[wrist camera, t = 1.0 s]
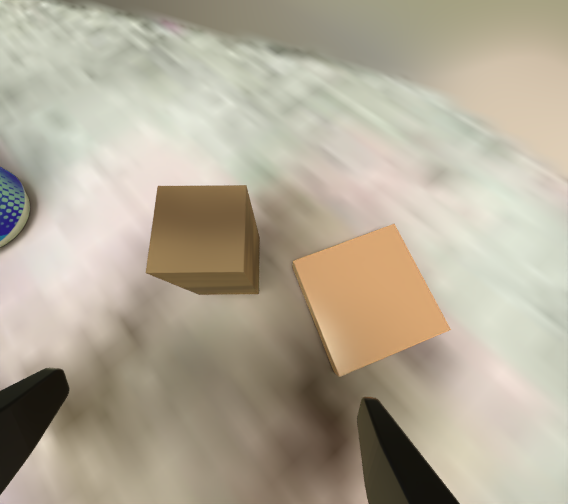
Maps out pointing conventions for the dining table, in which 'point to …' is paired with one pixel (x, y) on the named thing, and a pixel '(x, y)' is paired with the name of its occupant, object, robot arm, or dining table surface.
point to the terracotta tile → (368, 299)
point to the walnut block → (205, 239)
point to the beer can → (12, 207)
